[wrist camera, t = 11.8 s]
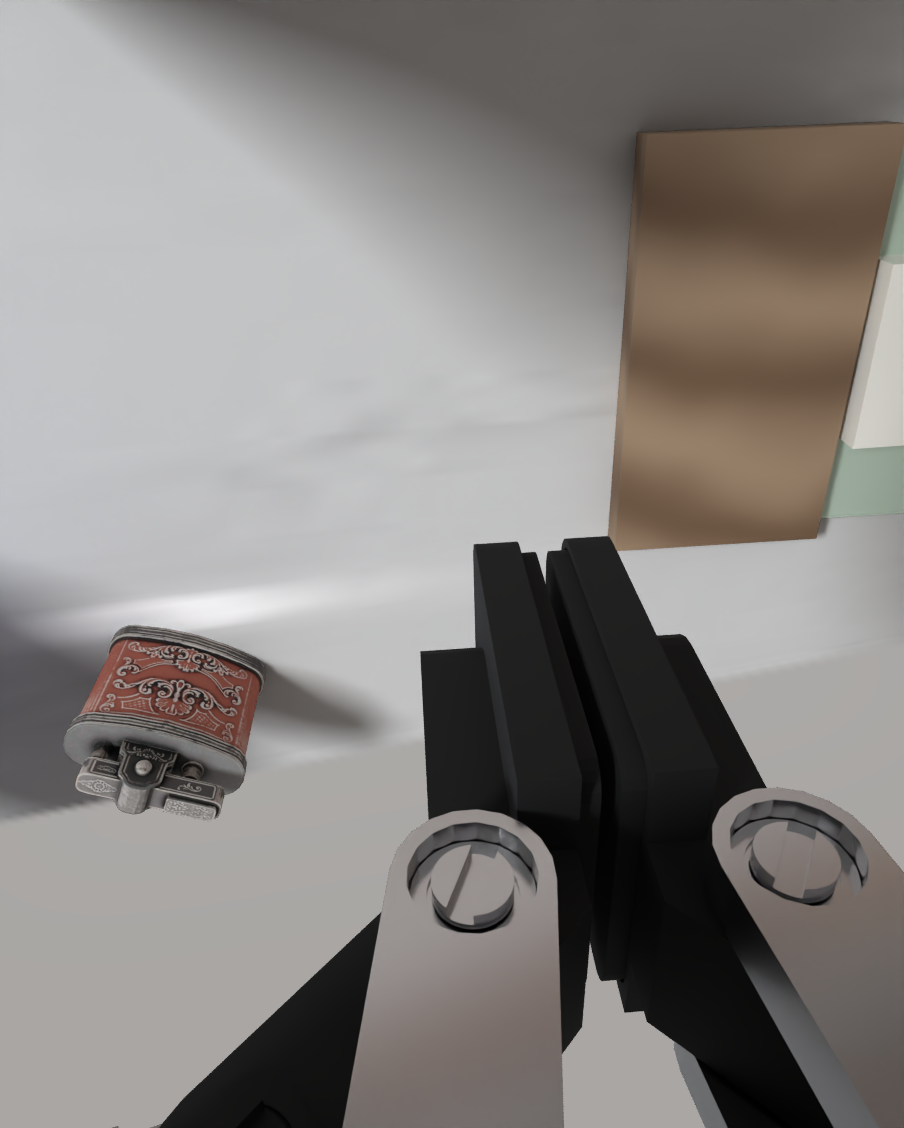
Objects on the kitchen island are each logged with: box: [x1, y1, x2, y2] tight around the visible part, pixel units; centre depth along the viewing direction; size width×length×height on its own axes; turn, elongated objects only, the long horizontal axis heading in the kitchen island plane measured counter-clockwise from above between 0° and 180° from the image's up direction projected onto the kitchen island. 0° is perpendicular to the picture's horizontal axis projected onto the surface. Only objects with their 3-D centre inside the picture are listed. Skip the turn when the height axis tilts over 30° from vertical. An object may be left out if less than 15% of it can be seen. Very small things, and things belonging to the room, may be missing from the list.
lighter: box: [63, 625, 266, 821], centre depth 39 cm, size 8×3×10 cm, turn 68°
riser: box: [608, 121, 904, 551], centre depth 36 cm, size 18×10×2 cm, turn 2°
